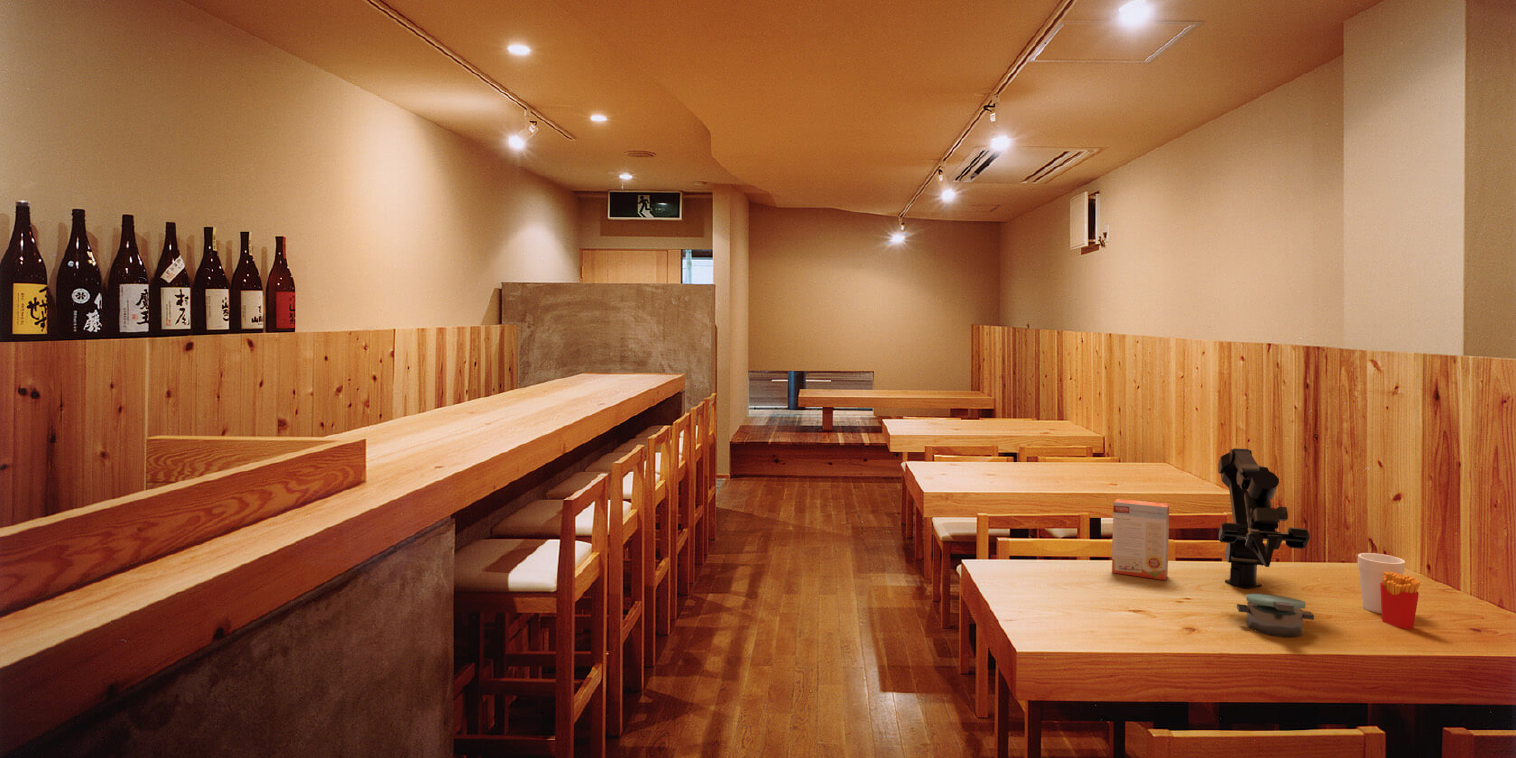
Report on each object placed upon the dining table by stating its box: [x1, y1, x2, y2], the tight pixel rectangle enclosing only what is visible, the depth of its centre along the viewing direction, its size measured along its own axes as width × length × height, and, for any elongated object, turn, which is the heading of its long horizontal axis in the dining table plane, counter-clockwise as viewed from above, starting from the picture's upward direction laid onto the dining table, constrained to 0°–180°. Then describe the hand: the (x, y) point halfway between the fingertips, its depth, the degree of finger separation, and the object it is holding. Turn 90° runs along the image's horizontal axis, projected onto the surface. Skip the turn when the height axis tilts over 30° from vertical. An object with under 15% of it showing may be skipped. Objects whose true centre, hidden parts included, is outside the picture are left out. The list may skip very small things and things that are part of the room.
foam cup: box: [1357, 552, 1406, 614], centre depth 202 cm, size 10×9×13 cm
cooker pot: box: [1236, 601, 1315, 638], centre depth 190 cm, size 12×15×5 cm
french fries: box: [1380, 572, 1421, 630], centre depth 192 cm, size 8×4×12 cm, turn 9°
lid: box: [1245, 593, 1306, 612], centre depth 187 cm, size 15×12×1 cm
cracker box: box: [1111, 498, 1170, 581], centre depth 230 cm, size 14×6×21 cm, turn 58°
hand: (1267, 566), depth 197 cm, fingers closed
